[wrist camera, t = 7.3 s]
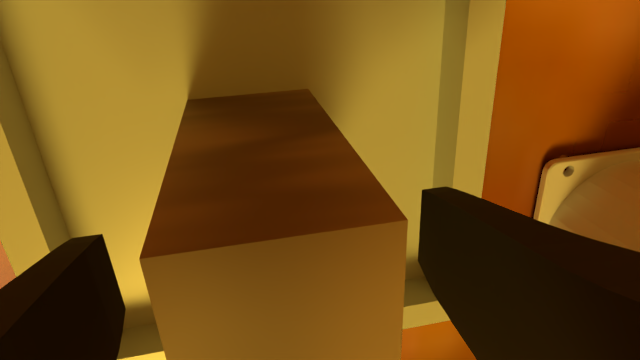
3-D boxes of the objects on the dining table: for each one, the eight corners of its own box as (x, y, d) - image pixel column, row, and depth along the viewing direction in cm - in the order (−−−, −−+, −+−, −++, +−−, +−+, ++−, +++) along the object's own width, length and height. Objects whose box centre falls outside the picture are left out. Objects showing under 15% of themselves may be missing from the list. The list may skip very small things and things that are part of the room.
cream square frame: (480, -119, 14) (523, -136, 12) (443, 284, 21) (466, 317, 19) (-92, -108, 11) (-159, -126, 9) (84, 348, 18) (67, 393, 16)
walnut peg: (308, 88, 15) (408, 219, 7) (313, 193, 16) (398, 396, 8) (187, 99, 14) (139, 258, 6) (206, 207, 16) (188, 441, 8)
